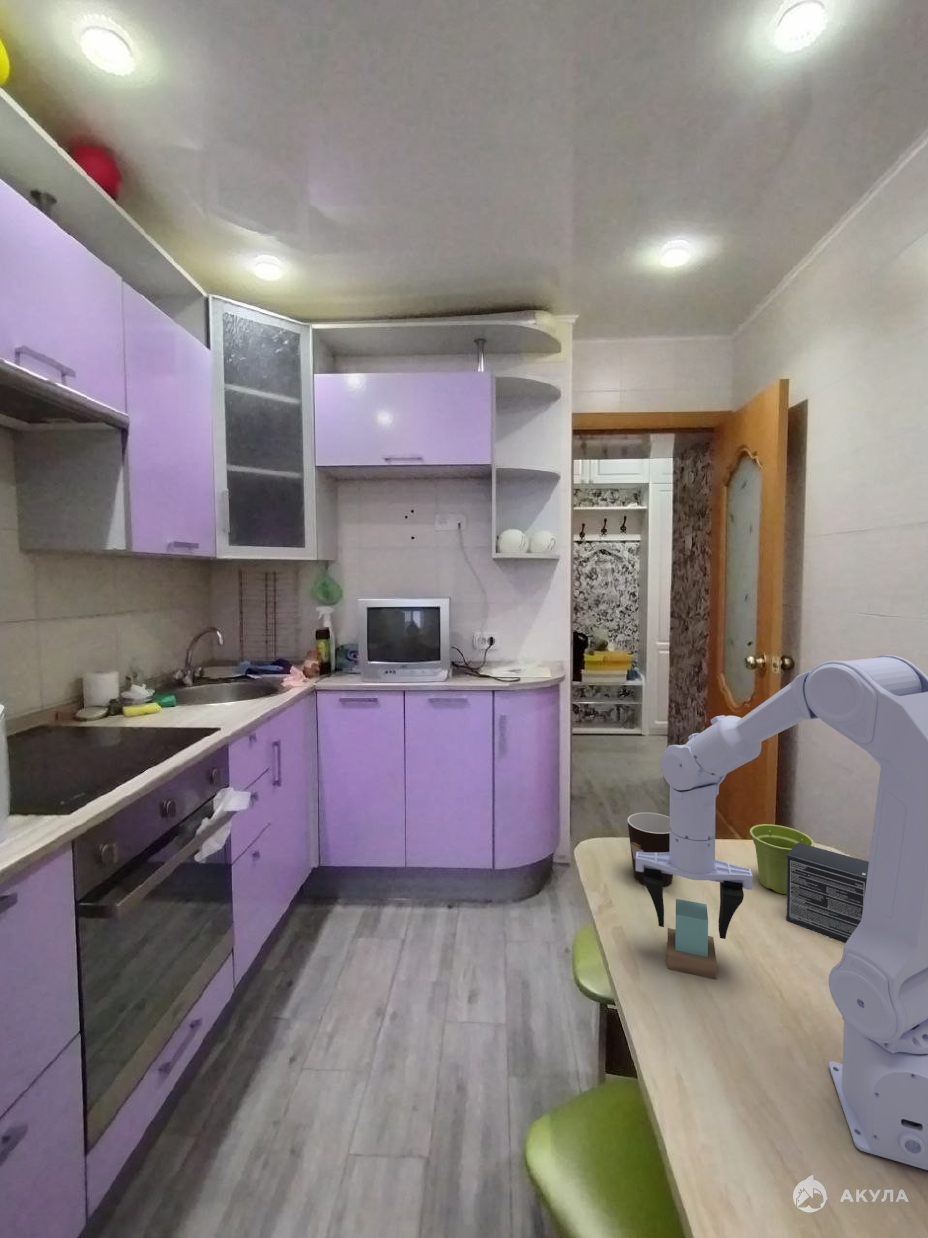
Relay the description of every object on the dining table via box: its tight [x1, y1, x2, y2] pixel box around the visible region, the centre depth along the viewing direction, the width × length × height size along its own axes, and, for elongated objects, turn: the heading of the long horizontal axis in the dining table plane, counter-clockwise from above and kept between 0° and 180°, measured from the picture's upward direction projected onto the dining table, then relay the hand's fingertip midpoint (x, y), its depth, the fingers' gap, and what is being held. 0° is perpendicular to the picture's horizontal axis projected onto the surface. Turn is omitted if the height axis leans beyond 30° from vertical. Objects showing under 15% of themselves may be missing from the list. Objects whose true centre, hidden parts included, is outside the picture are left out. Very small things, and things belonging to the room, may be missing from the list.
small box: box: [785, 843, 869, 943], centre depth 81 cm, size 11×6×10 cm, turn 45°
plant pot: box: [749, 823, 815, 895], centre depth 92 cm, size 9×9×9 cm
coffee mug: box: [627, 811, 674, 889], centre depth 94 cm, size 12×9×10 cm
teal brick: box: [675, 898, 709, 957], centre depth 75 cm, size 4×4×5 cm
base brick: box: [667, 927, 718, 980], centre depth 75 cm, size 6×6×2 cm
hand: (691, 928), depth 74 cm, fingers open, 7 cm apart
